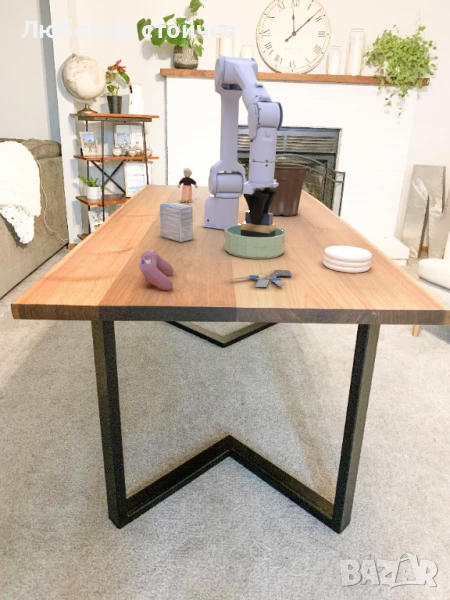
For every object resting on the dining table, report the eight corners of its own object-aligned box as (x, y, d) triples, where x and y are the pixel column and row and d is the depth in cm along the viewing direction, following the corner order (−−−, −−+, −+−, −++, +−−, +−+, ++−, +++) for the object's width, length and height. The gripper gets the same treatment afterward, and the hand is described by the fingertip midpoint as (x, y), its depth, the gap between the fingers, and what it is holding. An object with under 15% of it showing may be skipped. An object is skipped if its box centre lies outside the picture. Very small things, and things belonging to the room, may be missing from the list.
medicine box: (193, 240, 114) (193, 206, 111) (180, 242, 111) (180, 208, 108) (173, 234, 119) (172, 202, 116) (160, 237, 116) (159, 203, 113)
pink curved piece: (155, 281, 87) (137, 250, 85) (175, 271, 87) (158, 240, 84) (151, 299, 78) (132, 265, 76) (174, 289, 78) (155, 254, 75)
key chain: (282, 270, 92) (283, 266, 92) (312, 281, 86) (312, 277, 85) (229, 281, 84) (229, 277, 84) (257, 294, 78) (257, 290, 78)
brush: (240, 235, 104) (241, 212, 102) (248, 232, 107) (249, 209, 105) (268, 239, 101) (269, 215, 99) (275, 236, 104) (277, 212, 102)
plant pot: (271, 207, 165) (275, 162, 159) (311, 213, 156) (316, 165, 150) (248, 213, 153) (250, 164, 147) (289, 219, 144) (294, 168, 138)
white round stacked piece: (313, 262, 99) (315, 246, 98) (350, 258, 103) (352, 243, 101) (341, 275, 90) (343, 258, 89) (379, 271, 94) (382, 255, 93)
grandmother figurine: (177, 202, 168) (177, 167, 163) (177, 200, 172) (177, 166, 167) (197, 203, 169) (198, 168, 164) (197, 201, 172) (197, 167, 168)
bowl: (213, 253, 103) (214, 232, 101) (240, 241, 115) (240, 222, 113) (270, 263, 97) (272, 240, 95) (292, 249, 109) (293, 229, 107)
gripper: (266, 164, 90) (262, 230, 95) (290, 160, 102) (285, 219, 107) (235, 162, 93) (232, 225, 98) (262, 158, 105) (258, 215, 110)
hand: (258, 222), depth 103 cm, fingers closed on brush, 2 cm apart
